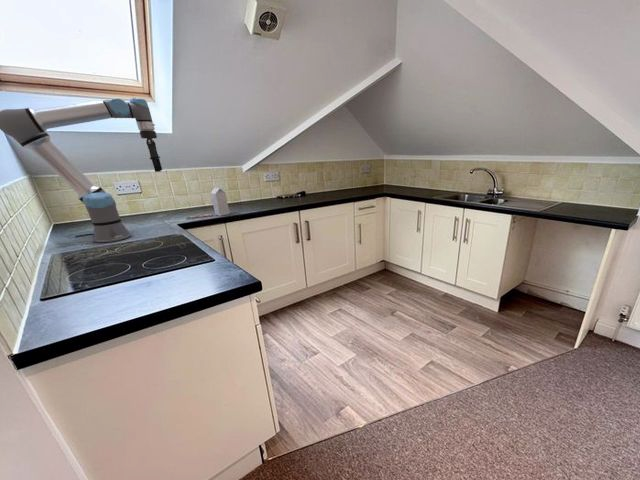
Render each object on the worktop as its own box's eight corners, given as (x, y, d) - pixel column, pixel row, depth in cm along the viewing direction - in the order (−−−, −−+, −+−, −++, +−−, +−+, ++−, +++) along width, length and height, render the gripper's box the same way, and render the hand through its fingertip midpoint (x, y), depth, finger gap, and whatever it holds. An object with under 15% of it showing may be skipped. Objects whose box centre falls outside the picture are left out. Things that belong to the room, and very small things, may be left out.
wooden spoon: (187, 219, 198) (186, 217, 197) (187, 218, 202) (186, 216, 201) (212, 216, 205) (212, 214, 204) (211, 215, 208) (211, 213, 208)
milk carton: (220, 216, 205) (213, 187, 197) (215, 214, 209) (208, 186, 201) (230, 214, 210) (224, 186, 202) (225, 213, 214) (219, 185, 206)
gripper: (153, 129, 157) (165, 171, 166) (156, 131, 177) (167, 169, 186) (136, 129, 154) (149, 172, 162) (141, 131, 174) (153, 169, 182)
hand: (159, 170), depth 174 cm, fingers open, 13 cm apart
